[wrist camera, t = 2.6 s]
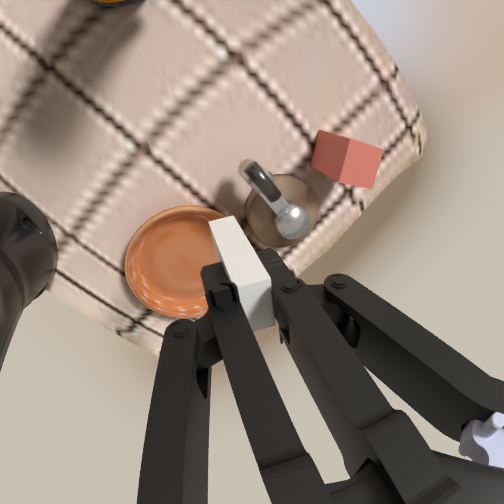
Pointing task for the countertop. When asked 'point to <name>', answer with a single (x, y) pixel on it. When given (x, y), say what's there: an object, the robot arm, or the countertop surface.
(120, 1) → the canister
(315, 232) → the countertop surface
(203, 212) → the saucer
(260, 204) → the hub plate
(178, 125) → the countertop surface
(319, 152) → the block
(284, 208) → the crank
